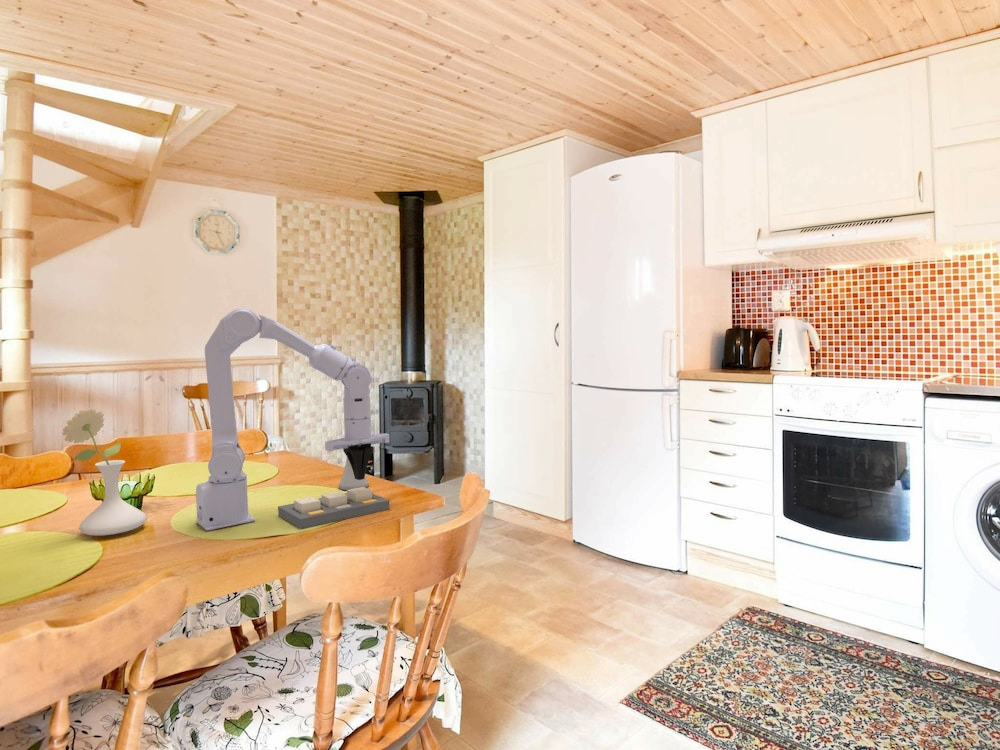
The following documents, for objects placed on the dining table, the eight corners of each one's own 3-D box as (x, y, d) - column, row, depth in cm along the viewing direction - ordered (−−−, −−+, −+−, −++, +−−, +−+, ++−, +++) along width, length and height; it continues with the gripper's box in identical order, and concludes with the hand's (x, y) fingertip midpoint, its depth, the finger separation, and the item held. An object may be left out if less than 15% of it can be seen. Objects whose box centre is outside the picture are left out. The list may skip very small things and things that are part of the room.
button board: (300, 529, 120) (300, 518, 120) (278, 515, 129) (278, 505, 129) (389, 509, 133) (389, 499, 133) (363, 498, 142) (363, 489, 142)
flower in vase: (134, 519, 128) (127, 401, 127) (156, 529, 121) (150, 405, 119) (60, 535, 118) (52, 408, 117) (80, 547, 111) (72, 412, 109)
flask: (332, 489, 151) (331, 449, 150) (352, 483, 157) (351, 444, 157) (355, 492, 147) (353, 452, 147) (374, 485, 154) (373, 446, 153)
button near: (302, 513, 124) (301, 504, 124) (294, 509, 127) (294, 500, 127) (320, 509, 127) (320, 500, 127) (312, 505, 130) (312, 496, 130)
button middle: (329, 507, 128) (329, 498, 128) (321, 504, 131) (321, 494, 131) (347, 504, 131) (347, 495, 130) (339, 500, 134) (338, 491, 134)
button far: (355, 502, 132) (355, 493, 132) (347, 498, 135) (347, 490, 135) (372, 499, 134) (372, 490, 134) (363, 495, 138) (363, 486, 137)
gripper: (334, 423, 126) (336, 487, 127) (395, 416, 135) (397, 476, 136) (320, 420, 131) (322, 482, 132) (379, 413, 140) (381, 471, 141)
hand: (359, 478), depth 134 cm, fingers closed
